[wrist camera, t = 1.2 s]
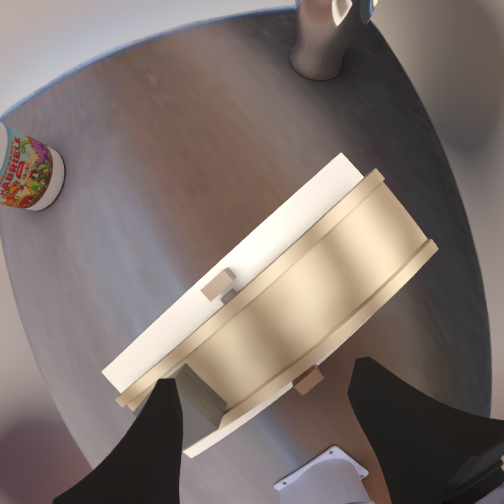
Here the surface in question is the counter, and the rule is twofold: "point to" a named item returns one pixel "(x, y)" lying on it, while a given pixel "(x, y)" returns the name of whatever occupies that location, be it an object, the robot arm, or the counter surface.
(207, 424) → the block
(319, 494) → the robot arm
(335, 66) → the beer glass
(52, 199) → the milk bottle
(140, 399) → the balance beam
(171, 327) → the beam stand
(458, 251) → the counter surface
